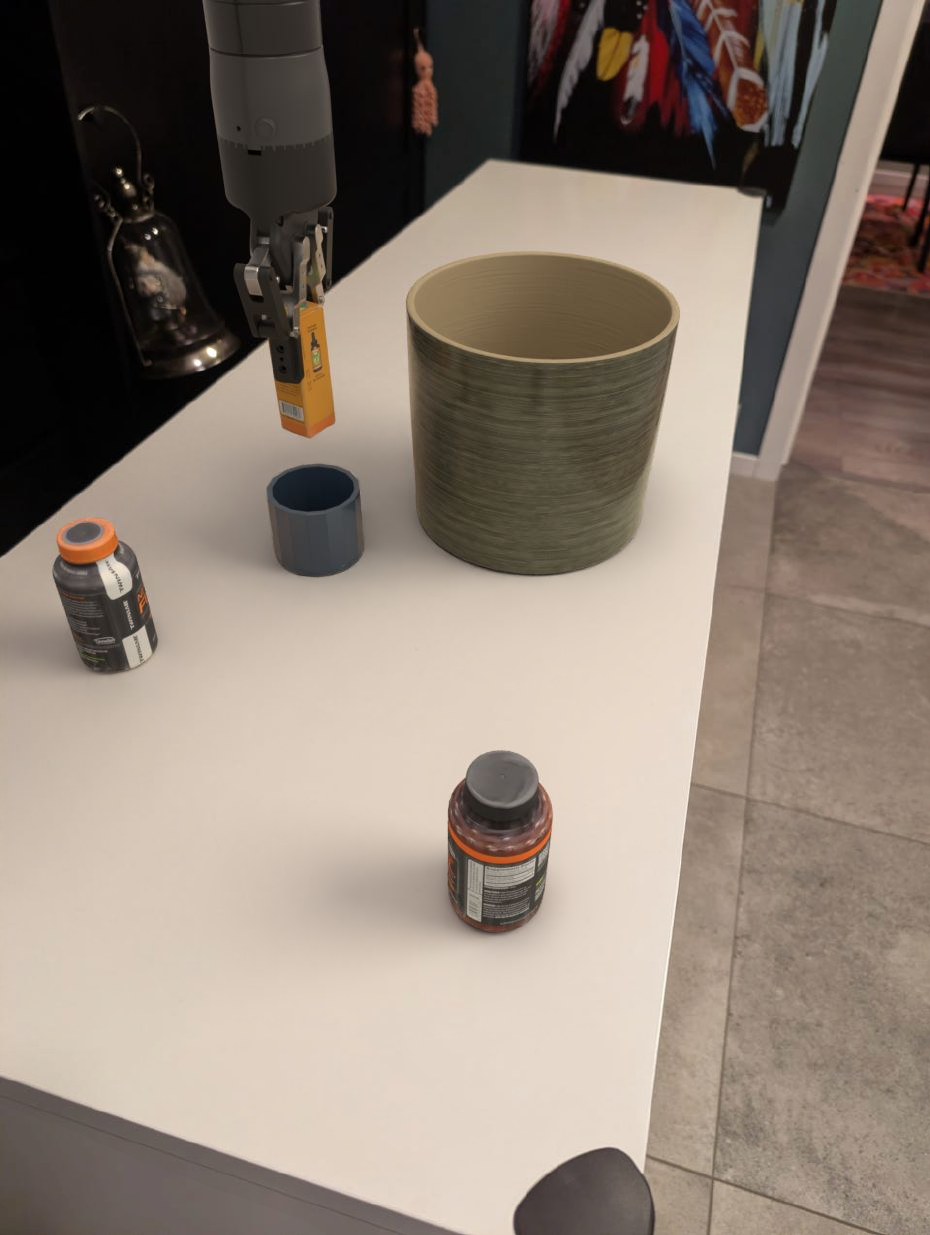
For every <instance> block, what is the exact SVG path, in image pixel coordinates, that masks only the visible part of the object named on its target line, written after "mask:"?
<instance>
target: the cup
mask: <svg viewBox="0 0 930 1235" xmlns="http://www.w3.org/2000/svg"><path fill="white" fill-rule="evenodd" d="M266 500H267V507H268V508H267V509H268V514H269V522H270V528H271V536H272V542H273V550H274V554H275V558H276V560H277V561H278V563H279V565H280V566H281V567H282V568H284V569H285V570H287V571H288V572H291V573H293V574H296V575H299V576H304V577H327V576H333V575H336V574H339V573H341V572H344V571H346V570H348V569H350V568H351V567H352V566H354V565H355V564H356V563H357V562H358V561H359V560H360V559H361V557H362V556H363V553H364V549H365V548H364V545H365V541H364V528H363V526H364V525H363V510H362V498H361V486H360V480H359V479H358V478H357V476H355V475H354V474H353V473H352V471H350V470H348V469H346V468H343V467H341V466H338V465H335V464H327V463H308V464H300V465H297V466H293V467H289V468H287V469H284V470H283V471H282V472H279V473H278V474H276V475H275V476H274V477H273V478H271V480H270V482H269V483H268V485H267V486H266Z"/></svg>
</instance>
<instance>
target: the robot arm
mask: <svg viewBox="0 0 930 1235" xmlns="http://www.w3.org/2000/svg"><path fill="white" fill-rule="evenodd" d="M202 7H203V13H204V14H203V15H204V22H205V29H206V35H207V42H208V52H209V76H210V77H209V82H210V83H209V84H210V93H211V101H212V109H213V115H214V116H213V117H214V123H215V130H216V138H217V144H218V151H219V158H220V165H221V166H220V167H221V171H222V172H221V173H222V180H223V184H224V185H223V186H224V193H225V197H226V199H227V201H228V202H229V204H231V206H233V207H235V208H236V209H238V210H241V211H242V212H244V213H245V214H246V215H247V216H248V217H249V219H250V225H249V226H250V229H249V230H250V232H249V233H250V234H249V253H250V259H249V262H248V263H238V262H237V263H235V264H234V267H233V279H234V283H235V286H236V289H237V291H238V294H239V297H240V301H241V304H242V307H243V310H244V313H245V316H246V320H247V322H248V326H249V329H250V332H251V335H252V337H254V338H260V339H262V338H266V339H268V338H269V342H270V349H269V351H270V350H271V356H270V359H271V358H272V361H271V367H272V366H273V368H272V374H274V375H273V379H274V378H275V379H276V380H277V381H278V382H283V383H291V384H299V383H300V382H301V381H302V380H303V378H304V376H305V373H304V364H303V354H302V344H301V334H299V333H300V305H301V304H302V303H304V302H305V301H309V302H312V303H316V304H320V305H322V306H323V307H324V304H325V300H326V299H325V298H326V297H325V292H324V291H327V292H329V291H330V290H331V287H332V282H333V281H332V272H333V270H332V268H333V267H332V266H333V239H334V238H333V237H334V236H333V232H334V209H333V207H332V206H328V205H330V204H331V203H332V202H333V201H334V199H335V198H336V196H337V192H338V187H337V185H338V184H337V174H336V173H337V171H336V157H335V143H334V127H333V126H334V125H333V112H332V100H331V99H332V98H331V88H330V80H329V74H328V69H327V64H326V59H325V53H324V52H325V51H324V45H323V43H324V41H323V29H322V28H323V27H322V26H323V25H322V13H321V0H202ZM280 286H285V289H286V290H283V289H281V288H280ZM284 304H285V305H286V306H287V308H288V318H287V314H286V310H285V307H284ZM269 342H268V343H269Z"/></svg>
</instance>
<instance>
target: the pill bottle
mask: <svg viewBox="0 0 930 1235" xmlns="http://www.w3.org/2000/svg"><path fill="white" fill-rule="evenodd" d="M55 541H56V544H57V548H58V553H59V554H58V555H57V556H56V558H55V560H54V561H53V565H52V570H51V571H52V578H53V582H54V584H55V587H56V590H57V592H58V596H59V599H60V601H61V605H62V607H63V611H64V614H65V618H66V620H67V623H68V626H69V629H70V632H71V635H72V638H73V641H74V644H75V647H76V650H77V653H78V656H79V657H80V660H81V661H82V663H83V664H84V665H85V666H86V667H88V668H90V669H91V670H93V671H97V672H100V673H119V672H125V671H128V670H131V669H133V668H136V667H137V666H140V665H141V664H143V663H144V662H146V661H147V660H148V659H149V658H150V657H151V656H152V655H153V654H154V652H156V651H155V650H156V648H157V646H158V642H159V639H158V634H157V630H156V627H155V622H154V619H153V615H152V611H151V606H150V604H149V599H148V596H147V592H146V588H145V584H144V581H143V577H142V573H141V569H140V566H139V562H138V558H137V555H136V553H135V551H134V550H133V548H132V547H130V545H128V544H127V543H126V542H124V541H122V540H120V539H119V537H118V535H117V532H116V529H115V527H114V525H113V523H111V522H110V521H108V520H106V519H103V518H99V517H86V518H85V517H84V518H81V519H76V520H74V521H72V522H69V523H67V524H66V525H64V526H63V527H62V528H60V529H59V531H58V532H57V534H56V538H55Z"/></svg>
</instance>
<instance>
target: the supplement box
mask: <svg viewBox="0 0 930 1235" xmlns="http://www.w3.org/2000/svg"><path fill="white" fill-rule="evenodd" d="M284 307H285V310H286V314H287V318H288V308H287V306H286V305H285V304H284ZM326 332H327V331H326V323H325V312H324V305H323V306H322V305H320V304H316V303H312V302H309V301H305V302H304V303H302V304H301V305H300V333H299V334H301V344H302V354H303V364H304V373H305V376H304V378H303V380H302V381H301V382H300V383H299V384H291V383H283V382H278V381H277V380H276V379H275V378H274V377H273V381H274V387H275V394H276V398H277V406H278V411H279V417H280V423H281V428H282V429H283V430H284V431H288V432H290V433H292V434H295V435H297V436H301V437H304V438H307V439H313V438H314V437H315V436H317V435H318V434H320V433H322V431H324V430H325V429H327V428H328V427H331V426H333V425H335V423H336V411H335V402H334V393H333V386H332V385H333V384H332V376H331V366H330V358H329V357H330V356H329V349H328V348H329V347H328V340H327V333H326ZM267 341H268V348H269V354H270V361H271V362H272V358H271V350H270V342H269V338H267ZM271 368H272V369H273V366H272V365H271ZM272 374H273V373H272ZM273 376H274V374H273Z"/></svg>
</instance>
